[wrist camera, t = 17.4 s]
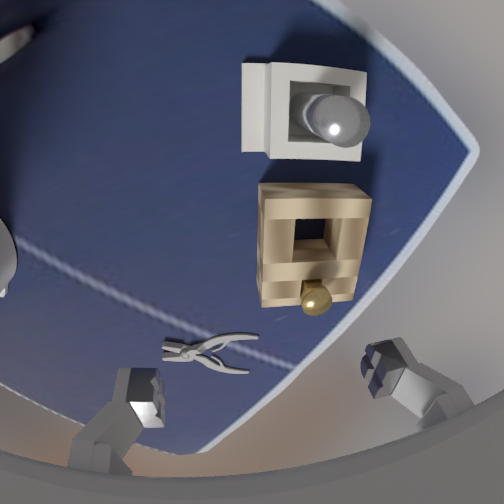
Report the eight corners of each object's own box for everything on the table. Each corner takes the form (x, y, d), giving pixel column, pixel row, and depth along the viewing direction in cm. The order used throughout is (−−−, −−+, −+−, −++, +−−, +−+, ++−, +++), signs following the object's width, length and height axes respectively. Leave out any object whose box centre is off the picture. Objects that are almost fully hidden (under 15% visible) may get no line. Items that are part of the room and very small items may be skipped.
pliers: (248, 377, 52) (162, 372, 49) (248, 371, 53) (163, 365, 51) (259, 339, 47) (161, 332, 45) (258, 332, 49) (162, 325, 46)
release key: (287, 277, 43) (300, 316, 36) (289, 254, 41) (304, 292, 34) (312, 276, 43) (329, 314, 36) (315, 253, 41) (334, 289, 34)
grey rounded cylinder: (287, 126, 32) (319, 146, 22) (288, 90, 30) (322, 93, 20) (322, 127, 32) (367, 149, 22) (324, 93, 30) (371, 99, 20)
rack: (241, 150, 34) (245, 161, 29) (241, 63, 29) (246, 58, 24) (356, 153, 35) (379, 165, 30) (362, 73, 30) (386, 73, 25)
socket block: (256, 281, 43) (261, 307, 38) (258, 183, 36) (264, 198, 31) (339, 276, 44) (352, 300, 39) (353, 183, 37) (372, 199, 32)
